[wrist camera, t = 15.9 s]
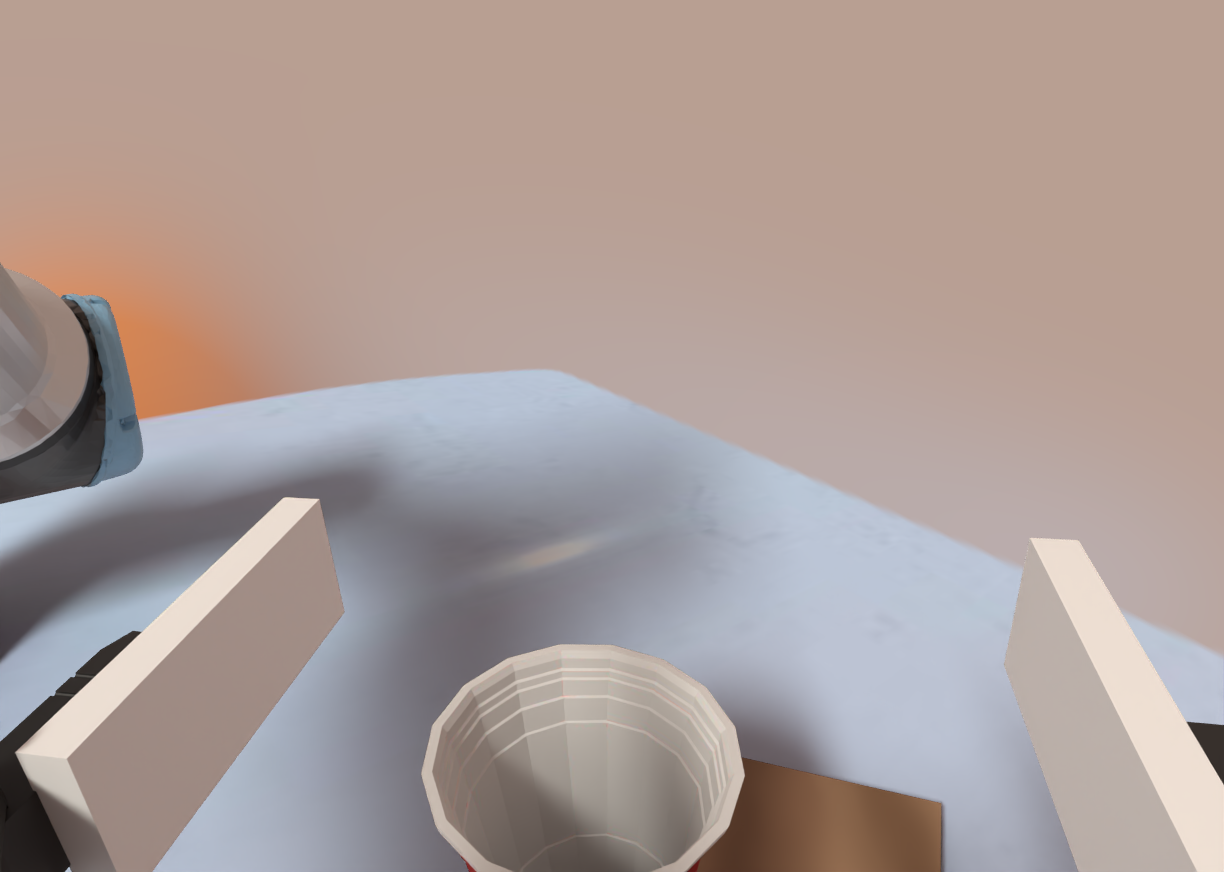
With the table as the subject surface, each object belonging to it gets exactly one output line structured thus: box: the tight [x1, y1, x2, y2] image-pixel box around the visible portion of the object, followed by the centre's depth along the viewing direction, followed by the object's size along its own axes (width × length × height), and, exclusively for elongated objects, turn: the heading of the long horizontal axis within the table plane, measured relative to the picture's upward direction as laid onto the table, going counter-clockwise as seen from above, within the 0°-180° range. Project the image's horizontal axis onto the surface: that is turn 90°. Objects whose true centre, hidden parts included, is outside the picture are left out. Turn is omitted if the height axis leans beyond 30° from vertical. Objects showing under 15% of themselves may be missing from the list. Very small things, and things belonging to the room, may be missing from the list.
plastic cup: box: [421, 644, 745, 872], centre depth 31 cm, size 11×11×12 cm
